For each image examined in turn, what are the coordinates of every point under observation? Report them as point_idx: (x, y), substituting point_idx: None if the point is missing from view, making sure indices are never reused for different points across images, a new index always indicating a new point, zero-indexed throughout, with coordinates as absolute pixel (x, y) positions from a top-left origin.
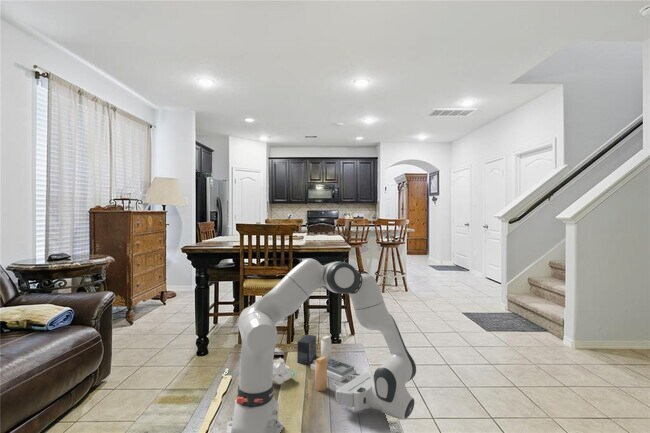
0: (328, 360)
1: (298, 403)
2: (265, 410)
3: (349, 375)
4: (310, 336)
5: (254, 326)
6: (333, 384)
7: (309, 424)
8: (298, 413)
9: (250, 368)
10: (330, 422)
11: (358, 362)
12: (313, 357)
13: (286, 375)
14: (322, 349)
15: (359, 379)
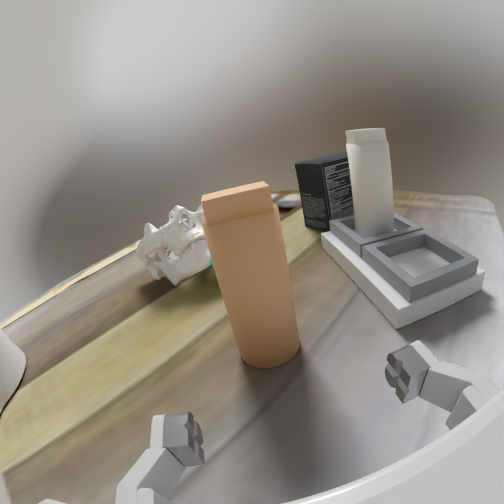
0: (378, 223)
1: (109, 385)
2: None
3: (410, 356)
4: (346, 153)
5: None
6: (152, 422)
7: (19, 489)
8: (56, 425)
9: None
10: None
11: (493, 244)
12: None
13: (185, 261)
14: (352, 177)
15: (466, 490)
